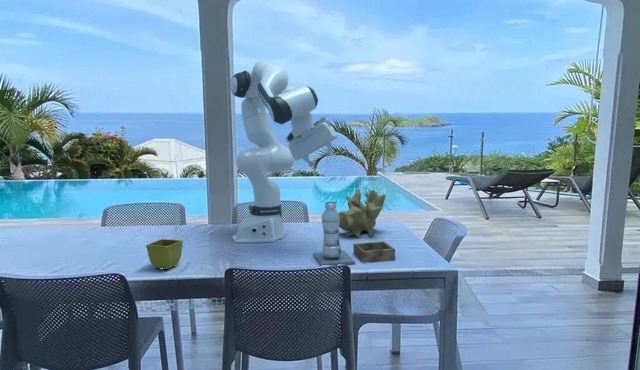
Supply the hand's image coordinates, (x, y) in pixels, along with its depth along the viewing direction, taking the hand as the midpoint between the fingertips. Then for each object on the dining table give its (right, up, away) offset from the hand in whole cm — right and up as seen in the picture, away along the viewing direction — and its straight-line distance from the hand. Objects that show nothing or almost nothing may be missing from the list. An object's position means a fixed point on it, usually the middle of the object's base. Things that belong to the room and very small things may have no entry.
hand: (321, 160), depth 167 cm
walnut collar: (+19, -35, -5) cm, 41 cm away
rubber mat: (+4, -36, -8) cm, 37 cm away
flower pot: (-54, -38, -14) cm, 67 cm away
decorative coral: (+15, -31, +28) cm, 45 cm away
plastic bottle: (+4, -35, -9) cm, 37 cm away
